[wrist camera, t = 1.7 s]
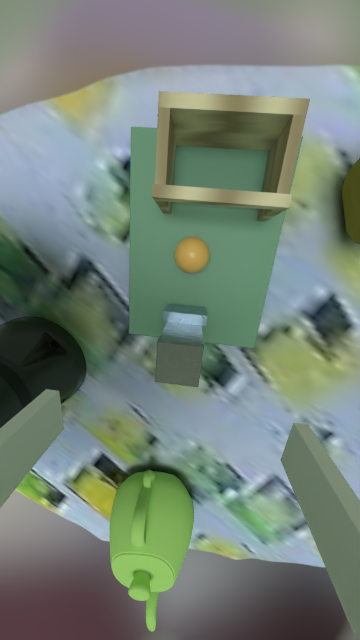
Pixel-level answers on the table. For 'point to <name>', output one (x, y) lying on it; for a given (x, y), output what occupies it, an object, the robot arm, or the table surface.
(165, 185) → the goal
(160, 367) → the block
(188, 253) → the ball
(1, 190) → the table surface
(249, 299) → the board
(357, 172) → the flower pot
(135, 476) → the teapot
